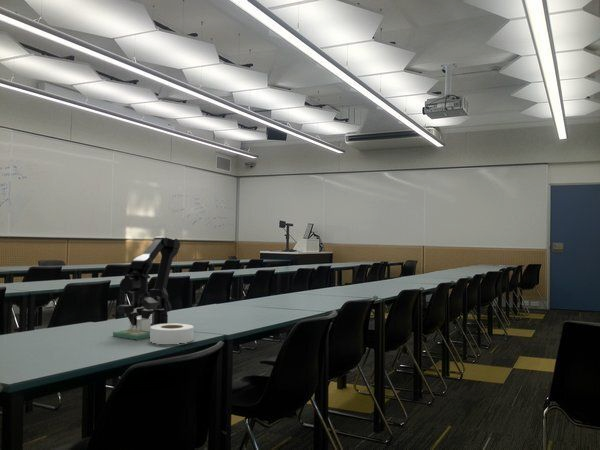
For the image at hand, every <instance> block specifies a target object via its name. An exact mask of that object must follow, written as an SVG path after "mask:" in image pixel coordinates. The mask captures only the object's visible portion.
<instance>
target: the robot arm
mask: <svg viewBox="0 0 600 450" xmlns="http://www.w3.org/2000/svg"><path fill="white" fill-rule="evenodd" d="M180 247H181V242H180V241H179V240H178V239H177V238H168V237H166V236H155V237H154V238H153V241H152V242H151V243H150V244H149V246H148V247H147V248H146V249H145V251H144V252H143V253H142V254H141V255H138V256H136V257H135V258H134V259H132V260H131V263H130V264H129V268H128V269H127V271H126V273H125V274H124V277H123V278H122V279H121V281H120V282H119V288H120V290H121V291H122V292H123V293H130V295H131V296H132V302H130V304H119V305H118V306H117V307H116V313H119V314H123V315H124V314H125V316H126V317H127V319H128V321H129V320H130V322H131V325H133V326H134V325H136V326H137V317H138V315H140V316H141V317H140V318H147V319H150V317H151V325H150V326H153V325H157V324H167V323H169V322H168V321H169V320H168V318H169V317H168V316H169V315H168V312H171V311H172V305H171V302H170V300H169V294H168V290H167V288H168V287H167V286H168V281H169V278H170V274H171V273H170V272H171V269H172V263H173V259H174V258H175V257H176V256H177V254H178V253H179V250H180ZM159 253H160V256H161V258H160V262H159V267H158V272H157V276H156V279H155V285H154V287H153V288H151V289H149V290H148V286H149V285H148V284H149V283H148V282H149V279H151V276H150V275H149V273H150V272H151V270H152V268H153V261H154V260H155V258H156V257H157V256H158V255H159ZM138 310H140V312H138Z"/></svg>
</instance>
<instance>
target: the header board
mask: <svg viewBox="0 0 600 450" xmlns="http://www.w3.org/2000/svg"><path fill="white" fill-rule="evenodd" d="M139 327H140V326H137V330H136V325H134V326H133V325H130V329H129V328H128V329H124V330H119V331H113V332H112V336H113V337H117V338H121V337H122V338H123V339H127V338H129V339H128V340H133V339H136V340H135V341H139V340H138V339H141V340H144V339H143V338H146V339H150V338H149V337H150V331H149V332H148V331H141V330H139Z"/></svg>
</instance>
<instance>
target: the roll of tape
mask: <svg viewBox="0 0 600 450" xmlns="http://www.w3.org/2000/svg"><path fill="white" fill-rule="evenodd" d="M194 328H195V327H194V325H192V324H188V323H176V322H175V323H174V322H173V323H171V322H170V323H169V322H168V323H167V324H157V325H153V326H152V325H150V331H149V332H150V338H149V342H150V343H151V342H152V343H151V344H153V343H156V344H155V345H159V344H177V343H185V342H190V341H192V340H193V341H194ZM193 341H192V342H193ZM190 343H191V342H190ZM185 344H186V343H185Z"/></svg>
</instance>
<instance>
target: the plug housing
mask: <svg viewBox="0 0 600 450" xmlns="http://www.w3.org/2000/svg"><path fill="white" fill-rule="evenodd" d="M151 324H152V318H149V319H147V318H142V317H138V316H137V326H140V327H139V330H141V331H148V332H150V327H151V326H152V325H151ZM130 325H131V322H130V320H129V319H128V330H129V329H130ZM137 326H136V330H137Z"/></svg>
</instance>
